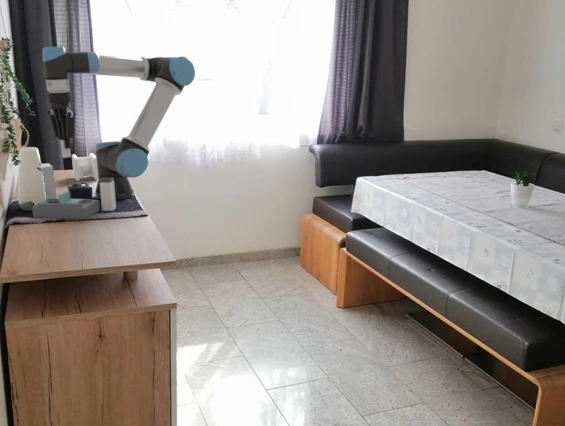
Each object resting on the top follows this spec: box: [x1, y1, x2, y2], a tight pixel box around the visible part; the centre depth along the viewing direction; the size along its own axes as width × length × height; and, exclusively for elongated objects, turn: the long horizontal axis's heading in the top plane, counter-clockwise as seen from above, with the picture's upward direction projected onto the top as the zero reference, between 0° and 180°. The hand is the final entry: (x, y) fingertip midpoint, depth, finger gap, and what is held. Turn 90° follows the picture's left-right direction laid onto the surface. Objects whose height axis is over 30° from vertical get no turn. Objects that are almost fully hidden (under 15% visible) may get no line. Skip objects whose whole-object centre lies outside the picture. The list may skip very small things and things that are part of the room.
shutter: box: [57, 190, 85, 204], centre depth 214 cm, size 6×6×4 cm
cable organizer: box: [71, 152, 98, 183], centre depth 276 cm, size 15×11×12 cm
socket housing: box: [31, 197, 100, 220], centre depth 215 cm, size 12×20×5 cm, turn 85°
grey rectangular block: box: [99, 177, 117, 212], centre depth 220 cm, size 4×4×12 cm
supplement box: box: [40, 162, 57, 200], centre depth 232 cm, size 9×9×15 cm
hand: (66, 157), depth 212 cm, fingers closed
